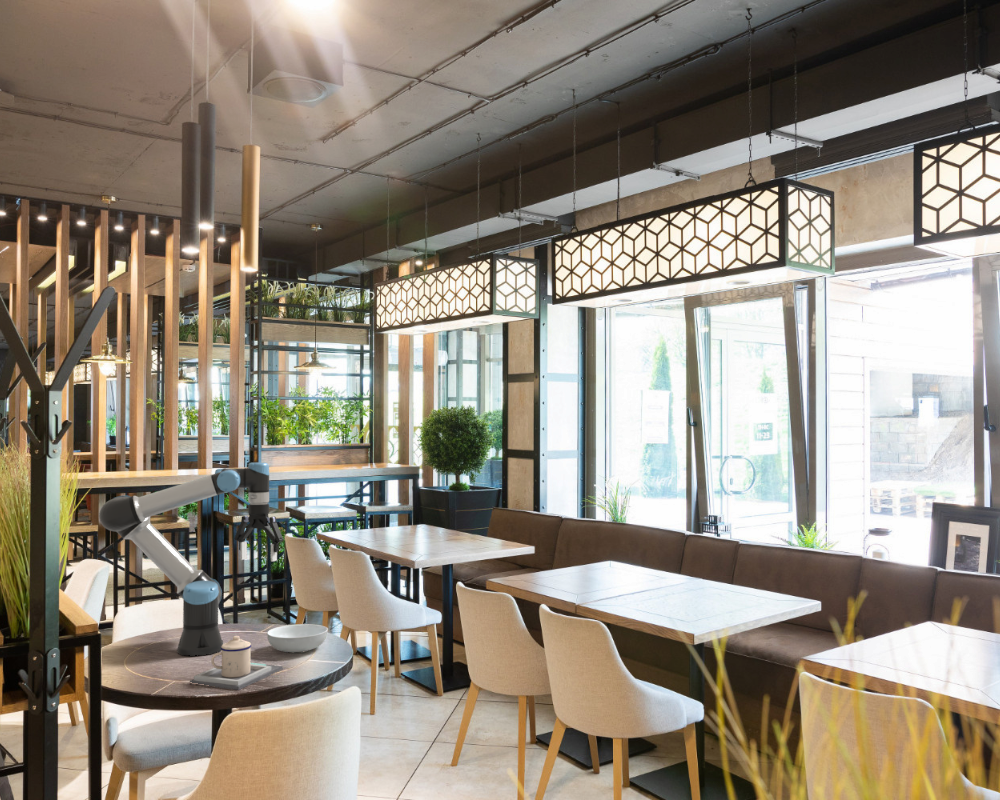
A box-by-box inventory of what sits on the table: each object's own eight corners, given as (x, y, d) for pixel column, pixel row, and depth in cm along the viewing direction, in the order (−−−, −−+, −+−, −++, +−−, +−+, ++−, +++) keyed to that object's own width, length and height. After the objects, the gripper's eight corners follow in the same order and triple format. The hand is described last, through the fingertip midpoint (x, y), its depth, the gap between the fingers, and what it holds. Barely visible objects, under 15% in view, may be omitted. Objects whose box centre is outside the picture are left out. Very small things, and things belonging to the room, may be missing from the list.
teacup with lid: (247, 668, 261) (247, 631, 261) (254, 675, 253) (254, 637, 253) (208, 673, 255) (208, 636, 255) (214, 681, 247) (214, 642, 247)
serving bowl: (339, 649, 286) (339, 629, 286) (286, 661, 271) (286, 641, 272) (308, 639, 301) (308, 620, 301) (256, 650, 286) (256, 630, 286)
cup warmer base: (189, 684, 248) (189, 676, 248) (236, 664, 268) (236, 657, 269) (238, 690, 242) (238, 682, 242) (282, 669, 262) (282, 662, 262)
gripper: (224, 503, 306) (224, 560, 305) (280, 505, 298) (280, 563, 297) (237, 501, 313) (237, 557, 312) (292, 503, 305) (292, 560, 304)
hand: (258, 560), depth 305 cm, fingers open, 13 cm apart
